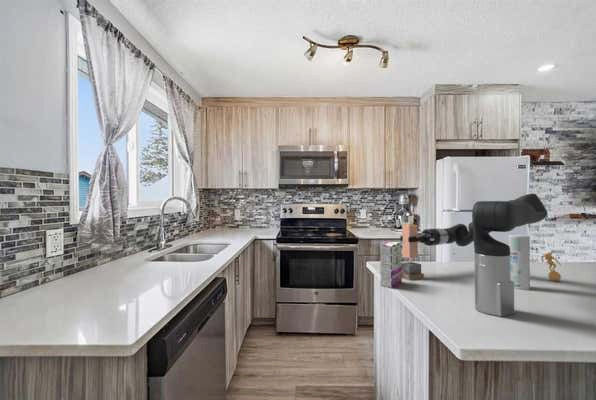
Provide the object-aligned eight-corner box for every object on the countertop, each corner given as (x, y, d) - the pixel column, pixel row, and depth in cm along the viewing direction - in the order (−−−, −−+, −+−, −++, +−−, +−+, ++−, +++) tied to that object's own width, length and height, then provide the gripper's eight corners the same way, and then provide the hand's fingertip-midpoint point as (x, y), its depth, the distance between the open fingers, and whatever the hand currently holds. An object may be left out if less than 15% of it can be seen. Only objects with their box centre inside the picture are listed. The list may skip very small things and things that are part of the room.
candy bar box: (390, 280, 129) (389, 241, 129) (401, 282, 126) (401, 242, 126) (379, 286, 120) (379, 244, 120) (392, 288, 117) (391, 245, 117)
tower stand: (424, 278, 132) (423, 264, 132) (409, 280, 129) (409, 266, 129) (410, 274, 140) (410, 261, 140) (396, 276, 137) (396, 262, 137)
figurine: (568, 283, 123) (568, 253, 123) (555, 284, 122) (554, 253, 122) (549, 278, 131) (549, 250, 131) (536, 278, 130) (536, 250, 130)
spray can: (534, 289, 114) (534, 236, 114) (517, 290, 114) (516, 236, 114) (521, 285, 121) (521, 234, 121) (505, 285, 121) (504, 234, 121)
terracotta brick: (417, 257, 133) (417, 223, 133) (409, 258, 132) (409, 223, 132) (410, 255, 137) (410, 222, 137) (402, 256, 136) (402, 223, 136)
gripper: (422, 227, 146) (393, 229, 140) (447, 229, 133) (416, 231, 127) (423, 243, 146) (394, 245, 140) (447, 247, 133) (416, 250, 127)
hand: (404, 239), depth 133 cm, fingers closed on terracotta brick, 4 cm apart
